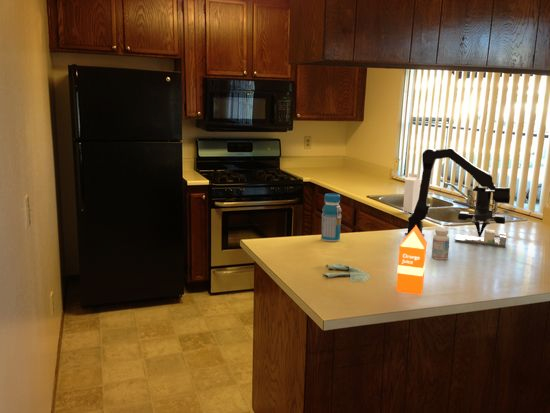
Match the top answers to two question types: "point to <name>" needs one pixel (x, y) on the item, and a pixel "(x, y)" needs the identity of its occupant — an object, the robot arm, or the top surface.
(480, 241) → the gauge base
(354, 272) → the cloth
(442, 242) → the pill bottle
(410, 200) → the milk
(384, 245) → the top surface
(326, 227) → the beverage bottle
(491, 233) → the white square block
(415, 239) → the orange juice
